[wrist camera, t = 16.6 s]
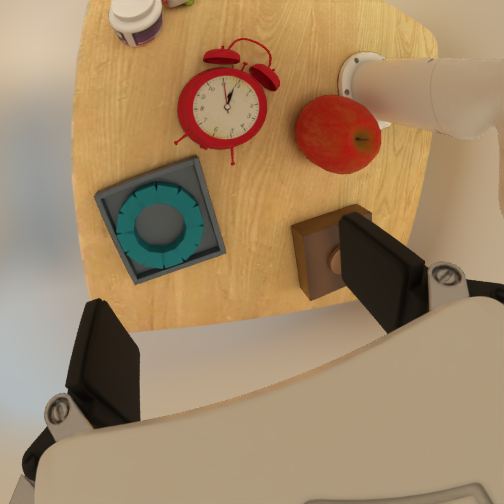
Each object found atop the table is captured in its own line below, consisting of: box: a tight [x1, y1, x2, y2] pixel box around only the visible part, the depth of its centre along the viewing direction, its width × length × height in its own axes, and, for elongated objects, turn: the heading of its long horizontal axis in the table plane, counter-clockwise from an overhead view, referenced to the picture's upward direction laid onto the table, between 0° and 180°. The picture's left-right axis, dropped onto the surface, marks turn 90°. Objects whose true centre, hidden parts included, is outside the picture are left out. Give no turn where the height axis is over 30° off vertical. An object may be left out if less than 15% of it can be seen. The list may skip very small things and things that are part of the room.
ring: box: [116, 181, 204, 269], centre depth 34 cm, size 11×11×2 cm
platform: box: [291, 204, 372, 301], centre depth 43 cm, size 12×12×5 cm
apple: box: [295, 95, 381, 174], centre depth 31 cm, size 10×10×10 cm
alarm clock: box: [174, 38, 280, 165], centre depth 28 cm, size 10×6×15 cm
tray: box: [94, 155, 226, 285], centre depth 35 cm, size 13×13×2 cm
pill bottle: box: [108, 0, 162, 47], centre depth 19 cm, size 5×5×10 cm
